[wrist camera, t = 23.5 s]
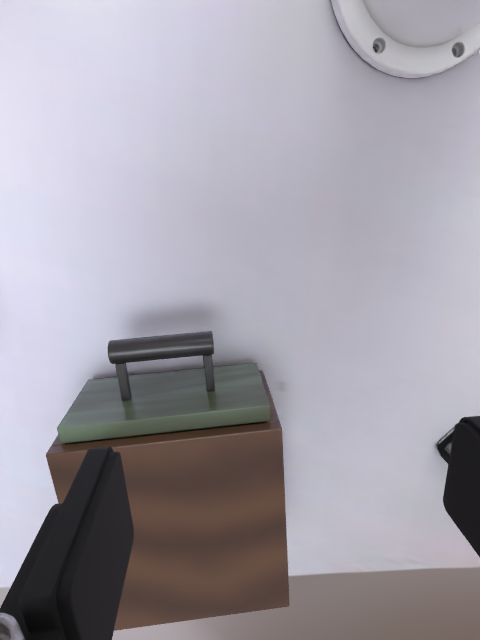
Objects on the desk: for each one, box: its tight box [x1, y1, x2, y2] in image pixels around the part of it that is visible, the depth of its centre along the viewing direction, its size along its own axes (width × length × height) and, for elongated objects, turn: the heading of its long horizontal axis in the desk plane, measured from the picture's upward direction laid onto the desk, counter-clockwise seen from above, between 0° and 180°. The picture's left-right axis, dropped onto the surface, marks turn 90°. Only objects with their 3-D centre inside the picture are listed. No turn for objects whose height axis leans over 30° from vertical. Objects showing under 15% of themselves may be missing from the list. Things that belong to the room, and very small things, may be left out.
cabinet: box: [46, 371, 289, 630], centre depth 31 cm, size 16×15×9 cm
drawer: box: [57, 331, 270, 444], centre depth 29 cm, size 19×14×7 cm
